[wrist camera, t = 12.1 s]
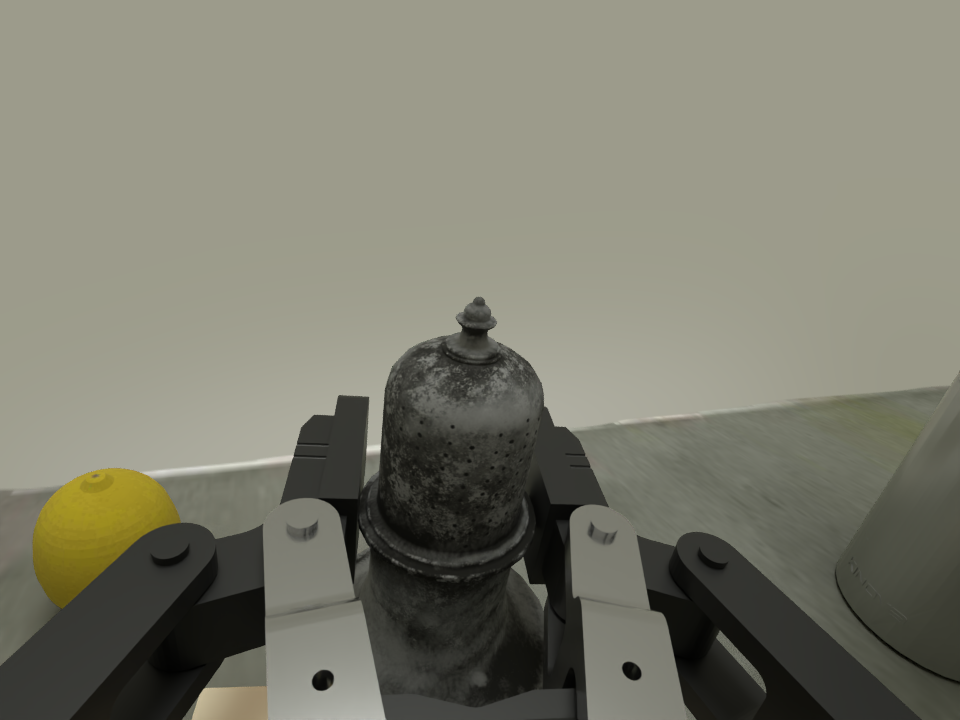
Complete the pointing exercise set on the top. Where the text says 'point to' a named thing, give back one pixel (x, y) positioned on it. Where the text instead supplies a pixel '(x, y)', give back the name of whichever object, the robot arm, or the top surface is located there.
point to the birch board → (232, 704)
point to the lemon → (94, 527)
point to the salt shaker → (454, 522)
